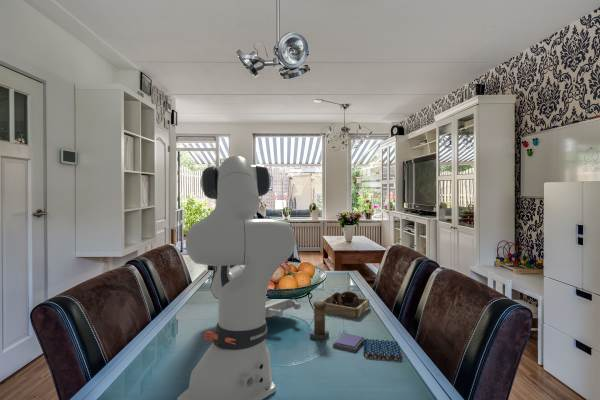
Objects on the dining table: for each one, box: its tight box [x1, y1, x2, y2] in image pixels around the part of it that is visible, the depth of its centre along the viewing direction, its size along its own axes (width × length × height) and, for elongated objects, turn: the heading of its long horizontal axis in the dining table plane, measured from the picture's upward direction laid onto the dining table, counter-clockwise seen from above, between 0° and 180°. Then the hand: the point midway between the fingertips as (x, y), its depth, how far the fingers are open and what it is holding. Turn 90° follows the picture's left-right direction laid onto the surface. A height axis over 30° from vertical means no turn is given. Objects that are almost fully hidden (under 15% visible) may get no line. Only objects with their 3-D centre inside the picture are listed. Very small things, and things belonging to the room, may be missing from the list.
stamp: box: [309, 300, 330, 342], centre depth 108 cm, size 4×4×11 cm
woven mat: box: [362, 338, 403, 361], centre depth 98 cm, size 10×11×2 cm
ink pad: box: [332, 332, 366, 353], centre depth 103 cm, size 9×7×1 cm
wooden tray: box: [321, 293, 370, 319], centre depth 135 cm, size 14×16×4 cm
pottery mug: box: [333, 290, 360, 308], centre depth 135 cm, size 12×10×8 cm
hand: (290, 310), depth 116 cm, fingers open, 8 cm apart
